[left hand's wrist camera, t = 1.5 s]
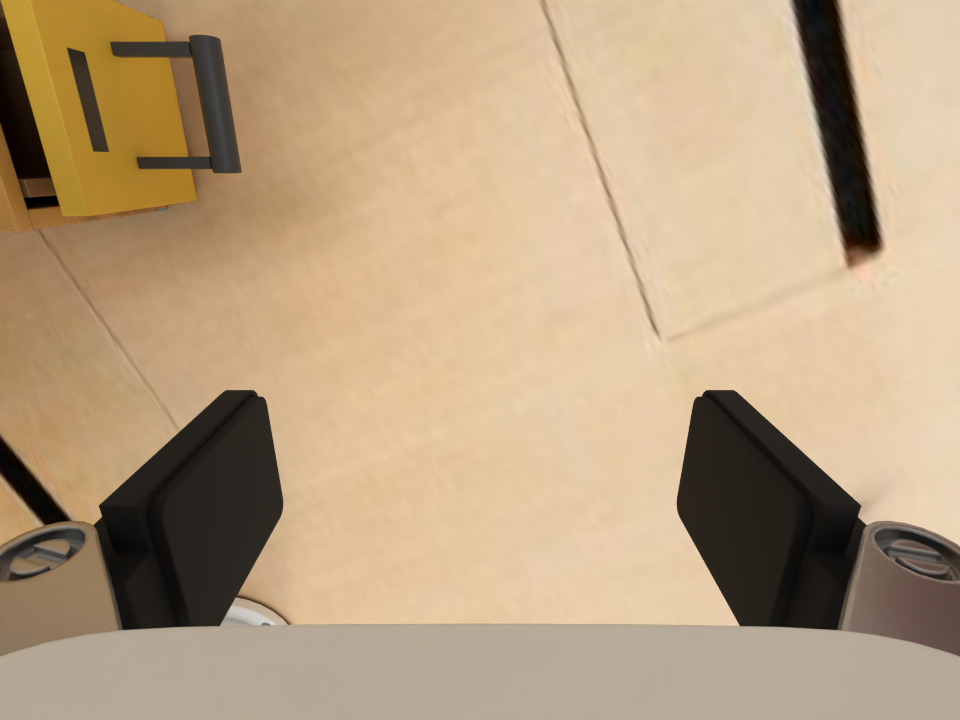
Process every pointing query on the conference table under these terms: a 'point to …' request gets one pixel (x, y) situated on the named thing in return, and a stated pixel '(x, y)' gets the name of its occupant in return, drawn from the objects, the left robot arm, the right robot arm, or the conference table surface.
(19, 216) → the cabinet
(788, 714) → the left robot arm
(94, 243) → the conference table surface
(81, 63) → the drawer
